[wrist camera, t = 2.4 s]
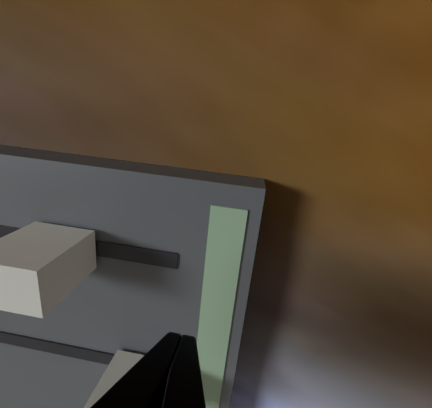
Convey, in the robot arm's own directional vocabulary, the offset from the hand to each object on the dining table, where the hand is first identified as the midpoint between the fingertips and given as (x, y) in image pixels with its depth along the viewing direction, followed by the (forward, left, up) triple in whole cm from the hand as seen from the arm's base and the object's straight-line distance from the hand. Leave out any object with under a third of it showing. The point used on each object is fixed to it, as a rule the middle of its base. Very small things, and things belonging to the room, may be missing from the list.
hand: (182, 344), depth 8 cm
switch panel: (-7, -7, -7) cm, 12 cm away
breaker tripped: (-7, 0, -4) cm, 8 cm away
